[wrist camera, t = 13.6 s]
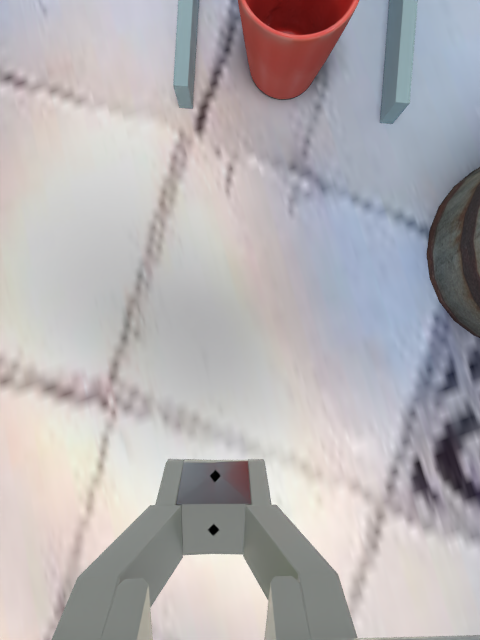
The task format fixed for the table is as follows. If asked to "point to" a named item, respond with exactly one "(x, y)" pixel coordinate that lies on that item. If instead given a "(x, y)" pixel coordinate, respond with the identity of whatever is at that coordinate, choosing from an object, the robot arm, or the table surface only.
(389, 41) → the tray frame
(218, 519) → the robot arm
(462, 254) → the barrel
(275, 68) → the flower pot
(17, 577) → the table surface
